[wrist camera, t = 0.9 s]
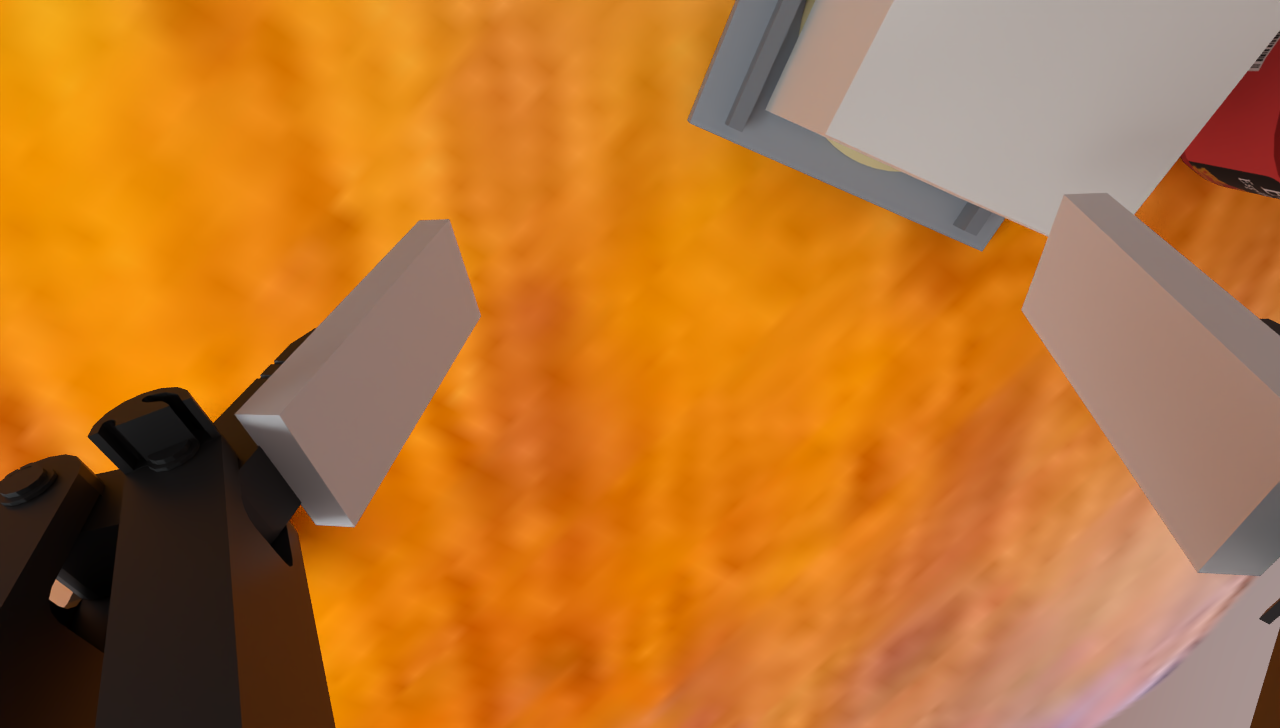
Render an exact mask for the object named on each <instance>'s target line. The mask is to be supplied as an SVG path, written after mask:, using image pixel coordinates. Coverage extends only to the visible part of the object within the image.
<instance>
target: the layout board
mask: <svg viewBox="0 0 1280 728" xmlns="http://www.w3.org/2000/svg"><path fill="white" fill-rule="evenodd" d="M814 2H815V0H736V1H735V4H734V6H733V9H732V11H731V14H730V16H729V19H728V21H727V23H726V26H725V28H724V31H723V33H722V36H721V38H720V41H719V43H718V46H717V48H716V51H715V53H714V56H713V58H712V60H711V63H710V65H709V68H708V70H707V73H706V75H705V78H704V80H703V83H702V85H701V88H700V90H699V93H698V95H697V97H696V100H695V102H694V105H693V107H692V110H691V112H690V115H689V117H688V120H687V121H688V122H689V123H691V124H693V125H695V126H697V127H700V128H702V129H704V130H706V131H709V132H711V133H713V134H716V135H718V136H720V137H722V138H725V139H727V140H729V141H732V142H734V143H736V144H738V145H741V146H743V147H745V148H748V149H750V150H752V151H754V152H757V153H759V154H761V155H764V156H766V157H768V158H770V159H773V160H775V161H777V162H779V163H782V164H784V165H786V166H789V167H791V168H793V169H795V170H798V171H800V172H802V173H805V174H807V175H809V176H811V177H814V178H816V179H818V180H821V181H823V182H825V183H827V184H830V185H832V186H834V187H836V188H839V189H841V190H843V191H846V192H848V193H850V194H852V195H855V196H857V197H859V198H862V199H864V200H866V201H868V202H871V203H873V204H875V205H878V206H880V207H882V208H884V209H887V210H889V211H891V212H894V213H896V214H898V215H900V216H903V217H905V218H907V219H909V220H912V221H914V222H916V223H919V224H921V225H923V226H925V227H928V228H930V229H932V230H935V231H937V232H939V233H941V234H944V235H946V236H948V237H951V238H953V239H955V240H957V241H960V242H962V243H964V244H966V245H969V246H971V247H973V248H976V249H978V250H980V251H983V249H984V248H985V246H986V245H987V244H988V242H989V241H990V239H991V238H992V236H993V235H994V233H995V232H996V230H997V229H998V228H999V226H1000V225H1001V223H1002V222H1003V220H1004V219H1005V218H1004V217H1002V216H999V215H997V214H995V213H992V212H990V211H988V210H986V209H983V208H981V207H979V206H976V205H974V204H972V203H969V202H967V201H965V200H963V199H960V198H958V197H956V196H954V195H951V194H949V193H947V192H945V191H943V190H940V189H938V188H936V187H934V186H932V185H929V184H927V183H925V182H923V181H921V180H918V179H916V178H914V177H912V176H910V175H907V174H905V173H903V172H901V171H899V170H896V169H894V168H892V167H890V166H887V165H885V164H883V163H881V162H879V161H876V160H874V159H872V158H870V157H868V156H865V155H863V154H861V153H859V152H857V151H854V150H852V149H850V148H848V147H846V146H843V145H841V144H839V143H837V142H835V141H832V140H830V139H828V138H826V137H824V136H821V135H819V134H817V133H815V132H813V131H810V130H808V129H806V128H804V127H802V126H799V125H797V124H795V123H793V122H791V121H788V120H786V119H784V118H782V117H780V116H777V115H775V114H773V113H771V112H769V111H766V110H765V109H766V107H767V105H768V102H769V100H770V98H771V96H772V94H773V92H774V89H775V87H776V85H777V83H778V81H779V78H780V76H781V74H782V72H783V70H784V68H785V65H786V63H787V61H788V59H789V57H790V55H791V52H792V50H793V48H794V46H795V44H796V41H797V39H798V37H799V35H800V33H801V31H802V28H803V26H804V24H805V22H806V20H807V18H808V15H809V13H810V11H811V9H812V7H813V4H814Z"/></svg>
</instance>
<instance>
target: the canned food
mask: <svg viewBox="0 0 1280 728" xmlns="http://www.w3.org/2000/svg"><path fill="white" fill-rule="evenodd" d="M1180 157H1181V159H1182V160H1183V162H1184V163H1185V164H1186V165H1188V166H1189V167H1190V168H1191V169H1192V170H1194V171H1195V172H1196V173H1198V174H1199V175H1200V176H1202V177H1203V178H1204V179H1206V180H1208V181H1210V182H1212V183H1215V184H1217V185H1220V186H1224V187H1228V188H1232V189H1237V190H1241V191H1246V192H1250V193H1255V194H1259V195H1264V196H1268V197H1273V198H1277V199H1280V31H1279V32H1278V33H1277V35H1276V36H1275V37H1274V38H1273V40H1272V41H1271V42H1270V43H1269V45H1268V46H1267V47H1266V48H1265V50H1264V51H1263V52H1262V54H1261V55H1260V56H1259V57H1258V59H1257V60H1256V61H1255V62H1254V64H1253V65H1252V66H1251V67H1250V69H1249V70H1248V71H1247V72H1246V74H1245V75H1244V76H1243V78H1242V79H1241V80H1240V81H1239V83H1238V84H1237V85H1236V86H1235V88H1234V89H1233V90H1232V91H1231V93H1230V94H1229V95H1228V96H1227V98H1226V99H1225V100H1224V102H1223V103H1222V104H1221V105H1220V107H1219V108H1218V109H1217V110H1216V112H1215V113H1214V114H1213V115H1212V117H1211V118H1210V119H1209V120H1208V122H1207V123H1206V124H1205V126H1204V127H1203V128H1202V129H1201V131H1200V132H1199V133H1198V134H1197V136H1196V137H1195V138H1194V139H1193V141H1192V142H1191V143H1190V145H1189V146H1188V147H1187V148H1186V150H1185V151H1184V152H1183V153H1182V155H1181V156H1180Z"/></svg>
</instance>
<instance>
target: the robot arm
mask: <svg viewBox="0 0 1280 728" xmlns="http://www.w3.org/2000/svg"><path fill="white" fill-rule="evenodd" d="M1022 312H1023V313H1024V315H1025V316H1026V318H1027V319H1028V321H1029V322H1030V324H1031V325H1032V327H1033V328H1034V330H1035V331H1036V333H1037V334H1038V335H1039V337H1040V338H1041V340H1042V341H1043V343H1044V344H1045V346H1046V347H1047V349H1048V350H1049V352H1050V353H1051V355H1052V356H1053V358H1054V359H1055V361H1056V362H1057V364H1058V365H1059V367H1060V368H1061V370H1062V371H1063V373H1064V374H1065V376H1066V377H1067V379H1068V380H1069V382H1070V383H1071V385H1072V386H1073V388H1074V389H1075V391H1076V392H1077V394H1078V395H1079V397H1080V398H1081V400H1082V401H1083V403H1084V404H1085V406H1086V407H1087V409H1088V410H1089V412H1090V413H1091V415H1092V416H1093V417H1094V419H1095V420H1096V422H1097V423H1098V425H1099V426H1100V428H1101V429H1102V431H1103V432H1104V434H1105V435H1106V437H1107V438H1108V440H1109V441H1110V443H1111V444H1112V446H1113V447H1114V449H1115V450H1116V452H1117V453H1118V455H1119V456H1120V458H1121V459H1122V461H1123V462H1124V464H1125V465H1126V467H1127V468H1128V470H1129V471H1130V473H1131V474H1132V476H1133V477H1134V479H1135V480H1136V482H1137V483H1138V485H1139V486H1140V488H1141V489H1142V491H1143V492H1144V494H1145V495H1146V497H1147V498H1148V499H1149V501H1150V502H1151V504H1152V505H1153V507H1154V508H1155V510H1156V511H1157V513H1158V514H1159V516H1160V517H1161V519H1162V520H1163V522H1164V523H1165V525H1166V526H1167V528H1168V529H1169V531H1170V532H1171V534H1172V535H1173V537H1174V538H1175V540H1176V541H1177V543H1178V544H1179V546H1180V547H1181V549H1182V550H1183V552H1184V553H1185V555H1186V556H1187V558H1188V559H1189V561H1190V562H1191V564H1192V565H1193V567H1194V568H1195V570H1196V571H1197V573H1215V574H1233V575H1252V576H1261V575H1262V574H1263V573H1264V572H1265V571H1266V570H1267V569H1268V568H1269V567H1270V566H1271V565H1272V564H1273V563H1274V562H1275V561H1276V560H1277V559H1278V558H1279V557H1280V324H1278V323H1276V322H1274V321H1272V320H1270V319H1259V318H1258V317H1257V316H1255V315H1254V314H1253V313H1252V312H1250V311H1249V310H1248V309H1247V308H1246V307H1244V306H1243V305H1242V304H1241V303H1240V302H1238V301H1237V300H1236V299H1235V298H1234V297H1232V296H1231V295H1230V294H1229V293H1228V292H1226V291H1225V290H1224V289H1223V288H1221V287H1220V286H1219V285H1218V284H1217V283H1215V282H1214V281H1213V280H1212V279H1211V278H1209V277H1208V276H1207V275H1206V274H1205V273H1203V272H1202V271H1201V270H1200V269H1199V268H1197V267H1196V266H1195V265H1194V264H1192V263H1191V262H1190V261H1189V260H1188V259H1186V258H1185V257H1184V256H1183V255H1182V254H1180V253H1179V252H1178V251H1177V250H1176V249H1174V248H1173V247H1172V246H1171V245H1170V244H1168V243H1167V242H1166V241H1165V240H1163V239H1162V238H1161V237H1160V236H1159V235H1157V234H1156V233H1155V232H1154V231H1153V230H1151V229H1150V228H1149V227H1148V226H1147V225H1145V224H1144V223H1143V222H1142V221H1141V220H1139V219H1138V218H1137V217H1136V216H1135V215H1133V214H1132V213H1131V212H1130V211H1128V210H1127V209H1126V208H1125V207H1124V206H1122V205H1121V204H1120V203H1119V202H1118V201H1116V200H1115V199H1114V198H1113V197H1112V196H1110V195H1109V194H1108V193H1087V194H1064V196H1063V198H1062V201H1061V204H1060V207H1059V209H1058V212H1057V215H1056V217H1055V220H1054V223H1053V226H1052V228H1051V231H1050V234H1049V236H1048V239H1047V242H1046V245H1045V247H1044V250H1043V253H1042V255H1041V258H1040V261H1039V264H1038V266H1037V269H1036V272H1035V274H1034V277H1033V280H1032V283H1031V285H1030V288H1029V291H1028V293H1027V296H1026V299H1025V302H1024V304H1023V307H1022ZM480 317H481V315H480V312H479V309H478V306H477V302H476V299H475V296H474V293H473V290H472V287H471V284H470V281H469V278H468V275H467V272H466V269H465V266H464V263H463V260H462V257H461V254H460V250H459V247H458V244H457V241H456V238H455V235H454V232H453V229H452V226H451V223H450V220H449V219H445V220H420V221H418V222H417V223H416V225H415V226H414V227H413V228H412V229H411V230H410V231H409V232H408V233H407V234H406V235H405V236H404V237H403V238H402V239H401V240H400V241H399V242H398V243H397V244H396V245H395V247H394V248H393V249H392V250H391V251H390V252H389V253H388V254H387V255H386V256H385V257H384V258H383V259H382V260H381V261H380V262H379V263H378V264H377V265H376V266H375V267H374V269H373V270H372V271H371V272H370V273H369V274H368V275H367V276H366V277H365V278H364V279H363V280H362V281H361V282H360V283H359V284H358V285H357V286H356V287H355V288H354V289H353V291H352V292H351V293H350V294H349V295H348V296H347V297H346V298H345V299H344V300H343V301H342V302H341V303H340V304H339V305H338V306H337V307H336V308H335V309H334V310H333V311H332V313H331V314H330V315H329V316H328V317H327V318H326V319H325V320H324V321H323V322H322V323H321V324H320V325H319V326H318V327H317V328H315V329H313V330H312V331H310V332H308V333H307V334H305V335H304V336H302V337H301V338H299V339H297V340H296V341H294V342H293V343H291V344H290V345H289V346H288V347H287V348H286V349H285V350H284V351H283V352H282V353H281V354H280V355H279V356H278V357H277V358H276V360H275V361H274V362H275V363H274V364H271V365H270V366H269V367H268V368H267V369H266V370H265V371H264V372H263V373H262V374H261V378H260V379H256V380H255V381H254V382H253V383H252V384H251V385H250V386H249V387H248V388H247V389H246V390H245V391H244V392H243V393H242V394H241V395H240V396H239V397H238V398H237V399H236V400H235V401H234V402H233V403H232V405H231V406H230V407H229V408H228V409H227V410H226V411H225V412H224V413H223V414H222V415H221V416H220V417H219V418H218V419H217V420H216V421H215V422H214V423H213V422H212V421H211V420H210V419H209V417H208V416H207V415H206V414H205V412H204V411H203V410H202V408H201V407H200V406H199V405H198V403H197V402H196V401H195V399H194V398H193V397H192V396H191V394H190V393H189V392H188V390H185V389H182V388H178V387H171V388H160V389H157V390H153V391H150V392H146V393H143V394H141V395H138V396H136V397H134V398H132V399H130V400H127V401H125V402H123V403H122V404H120V405H119V406H117V407H115V408H114V409H112V410H111V411H109V412H108V413H106V414H105V415H104V416H103V417H102V418H101V419H100V420H99V421H98V422H97V423H96V424H95V425H94V426H93V428H92V429H91V431H90V433H89V435H88V438H89V439H90V440H91V441H92V442H93V443H94V444H95V445H96V446H97V447H98V448H99V449H100V450H101V451H102V452H103V453H104V454H105V455H106V456H107V457H108V458H109V459H110V460H111V461H112V462H113V463H114V464H115V465H116V466H117V467H118V468H119V469H118V470H114V471H109V472H105V473H100V474H94V473H93V472H92V471H91V470H90V469H89V468H88V467H87V466H86V465H85V464H84V463H83V462H82V461H81V460H80V459H79V458H78V457H77V456H71V455H66V454H65V455H59V456H53V457H48V458H45V459H42V460H40V461H37V462H34V463H29V464H27V465H25V466H23V467H20V470H18V469H17V470H15V471H13V472H11V473H10V474H8V475H7V476H6V477H5V478H4V479H3V480H2V481H0V728H335V723H334V718H333V712H332V707H331V702H330V697H329V692H328V687H327V682H326V676H325V671H324V666H323V661H322V656H321V651H320V645H319V640H318V635H317V630H316V625H315V620H314V614H313V609H312V604H311V599H310V594H309V589H308V583H307V578H306V573H305V568H304V563H303V558H302V552H301V547H300V542H299V537H298V533H297V531H296V530H295V528H294V526H293V525H292V524H291V522H290V521H289V520H290V519H291V517H292V516H293V514H294V513H295V512H296V510H297V509H298V507H299V506H300V504H301V505H302V507H303V508H304V509H305V511H306V512H307V513H308V515H309V516H310V517H311V519H312V520H313V521H314V523H315V524H316V525H326V526H344V527H355V526H356V524H357V522H358V521H359V519H360V517H361V516H362V514H363V512H364V511H365V509H366V507H367V506H368V504H369V502H370V501H371V499H372V497H373V496H374V494H375V492H376V490H377V489H378V487H379V485H380V484H381V482H382V480H383V479H384V477H385V475H386V474H387V472H388V470H389V469H390V467H391V465H392V464H393V462H394V460H395V459H396V457H397V455H398V454H399V452H400V450H401V449H402V447H403V445H404V444H405V442H406V440H407V439H408V437H409V435H410V434H411V432H412V430H413V429H414V427H415V425H416V424H417V422H418V420H419V419H420V417H421V415H422V414H423V412H424V410H425V409H426V407H427V405H428V404H429V402H430V400H431V399H432V397H433V395H434V394H435V392H436V390H437V389H438V387H439V385H440V384H441V382H442V380H443V379H444V377H445V375H446V374H447V372H448V370H449V369H450V367H451V365H452V364H453V362H454V360H455V359H456V357H457V355H458V353H459V352H460V350H461V348H462V347H463V345H464V343H465V342H466V340H467V338H468V337H469V335H470V333H471V332H472V330H473V328H474V327H475V325H476V323H477V322H478V320H479V318H480ZM55 580H57V581H59V582H60V583H61V584H63V585H64V586H65V587H67V588H68V589H69V590H71V591H72V592H73V593H72V595H71V597H70V599H69V601H68V603H67V604H66V606H65V607H64V608H63V607H60V606H58V605H56V604H55V603H53V602H52V601H51V600H49V597H50V593H51V589H52V586H53V584H54V582H55ZM1279 616H1280V599H1278V600H1277V601H1276V602H1275V603H1274V604H1273V605H1272V606H1271V607H1270V608H1268V609H1267V610H1266V611H1265V613H1264V614H1263V615H1262V616H1261V617H1260V620H1262V621H1264V622H1266V623H1268V624H1270V623H1272V622H1273V621H1274V620H1275V619H1276V618H1277V617H1279ZM1250 728H1280V629H1279V632H1278V636H1277V639H1276V643H1275V646H1274V649H1273V652H1272V656H1271V659H1270V663H1269V666H1268V670H1267V673H1266V676H1265V679H1264V683H1263V686H1262V689H1261V693H1260V696H1259V699H1258V703H1257V706H1256V710H1255V713H1254V716H1253V719H1252V723H1251V726H1250Z"/></svg>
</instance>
